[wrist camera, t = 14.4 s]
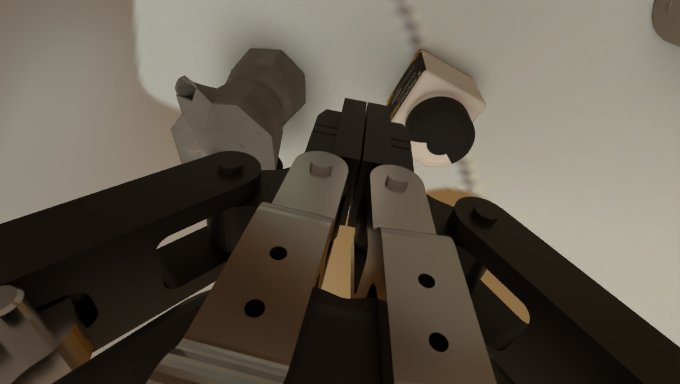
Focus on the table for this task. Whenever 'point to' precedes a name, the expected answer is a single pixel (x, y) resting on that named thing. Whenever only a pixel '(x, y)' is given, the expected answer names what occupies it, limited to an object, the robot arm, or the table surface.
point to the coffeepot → (240, 109)
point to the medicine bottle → (436, 110)
